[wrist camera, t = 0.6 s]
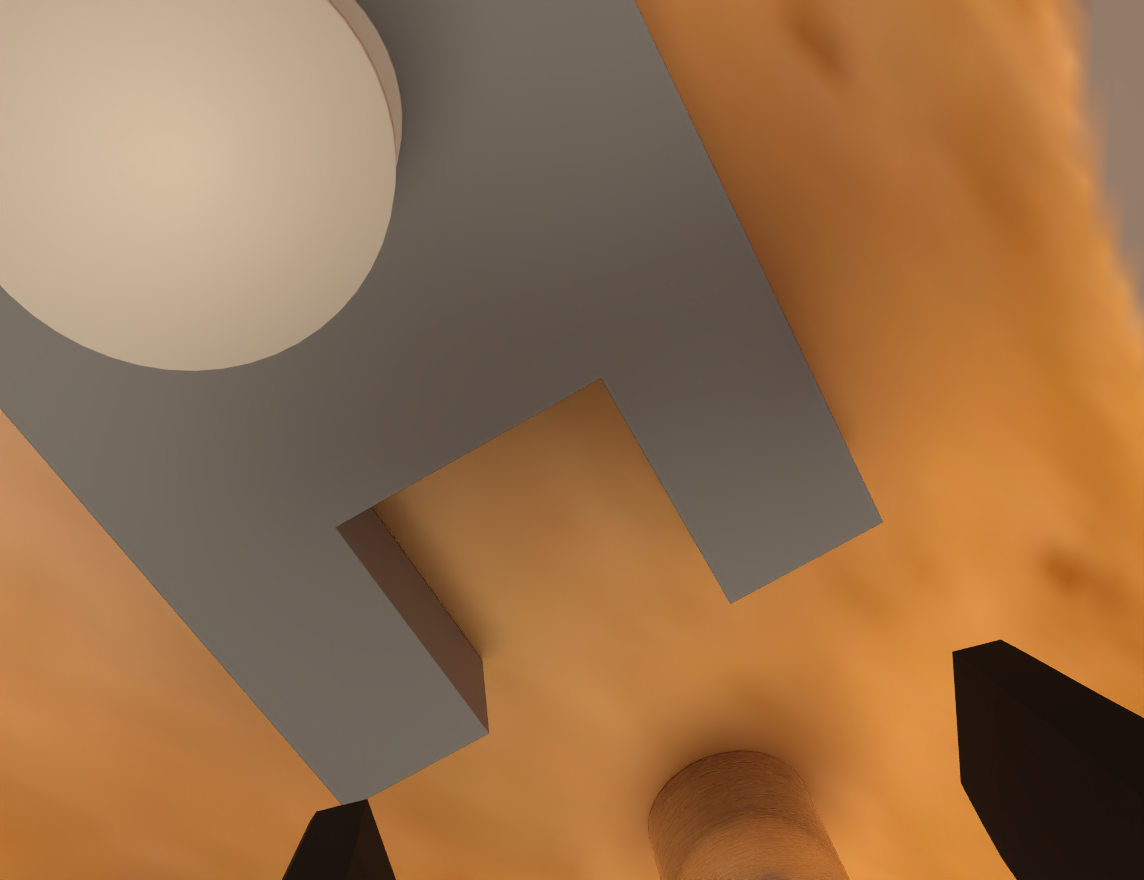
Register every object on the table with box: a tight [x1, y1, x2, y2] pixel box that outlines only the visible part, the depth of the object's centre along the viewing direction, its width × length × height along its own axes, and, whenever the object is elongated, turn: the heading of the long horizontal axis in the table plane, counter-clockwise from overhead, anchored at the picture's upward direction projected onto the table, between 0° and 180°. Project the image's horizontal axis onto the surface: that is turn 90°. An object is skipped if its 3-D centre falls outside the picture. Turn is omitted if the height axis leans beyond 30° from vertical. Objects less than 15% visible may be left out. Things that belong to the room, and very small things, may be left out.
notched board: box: [0, 0, 883, 805], centre depth 17 cm, size 16×12×8 cm
